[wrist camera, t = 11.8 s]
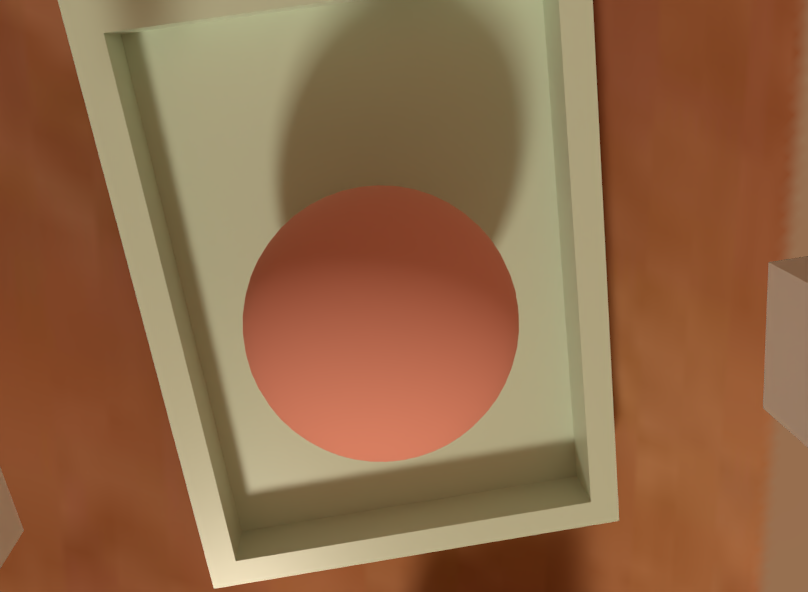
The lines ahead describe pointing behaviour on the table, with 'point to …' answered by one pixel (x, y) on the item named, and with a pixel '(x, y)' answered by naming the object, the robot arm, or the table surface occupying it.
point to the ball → (380, 323)
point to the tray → (328, 174)
